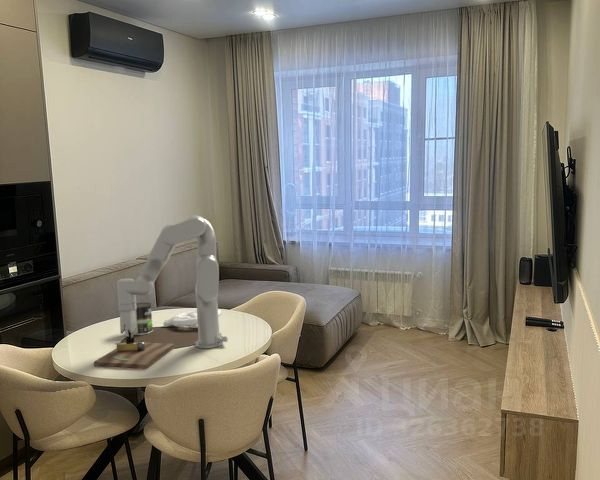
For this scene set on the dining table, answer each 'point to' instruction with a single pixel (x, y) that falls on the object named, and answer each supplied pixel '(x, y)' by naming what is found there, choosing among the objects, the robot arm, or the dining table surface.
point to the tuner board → (135, 356)
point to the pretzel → (184, 319)
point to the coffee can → (143, 319)
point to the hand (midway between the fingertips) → (130, 346)
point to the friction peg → (130, 346)
